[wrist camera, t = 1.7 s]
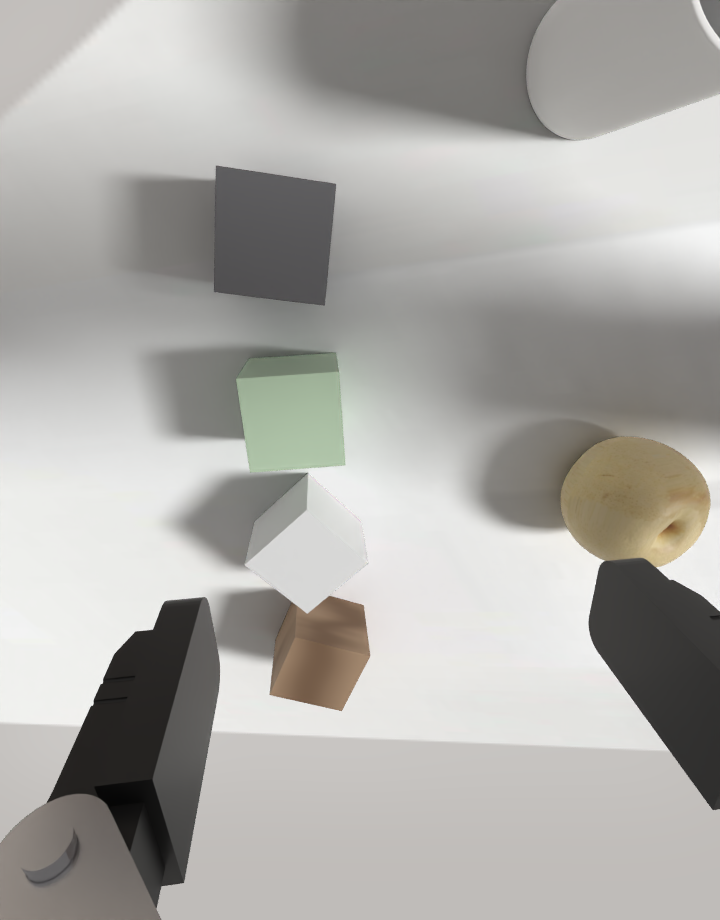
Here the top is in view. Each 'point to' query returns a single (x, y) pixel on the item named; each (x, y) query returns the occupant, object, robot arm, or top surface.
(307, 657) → the walnut block
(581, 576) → the top surface
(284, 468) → the sage block
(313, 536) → the grey block
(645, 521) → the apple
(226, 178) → the charcoal block
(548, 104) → the mug
